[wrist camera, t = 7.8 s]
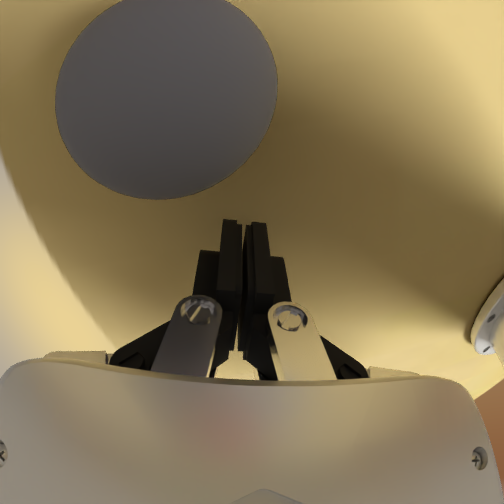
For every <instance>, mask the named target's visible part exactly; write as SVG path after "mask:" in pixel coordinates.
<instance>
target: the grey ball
mask: <svg viewBox="0 0 504 504" xmlns="http://www.w3.org/2000/svg"><path fill="white" fill-rule="evenodd" d="M276 100H277V72H276V66H275V62H274V58H273V55H272V52H271V50H270V48H269V45H268V43H267V41H266V40H265V38H264V36H263V35H262V33H261V31H260V30H259V29H258V28H257V26H256V25H255V24H254V23H253V21H252V20H251V19H250V18H249V17H247V16H246V15H245V14H244V13H243V12H242V11H241V10H239V9H238V8H237V7H235V6H234V5H232V4H231V3H229V2H227V1H225V0H123V1H121V2H119V3H117V4H115V5H113V6H112V7H110V8H109V9H107V10H106V11H104V12H103V13H101V14H100V15H99V16H97V17H96V18H95V19H94V20H93V21H92V22H91V23H90V24H89V25H88V26H87V27H86V28H85V29H84V30H83V31H82V32H81V34H80V35H79V36H78V38H77V39H76V41H75V42H74V43H73V45H72V46H71V48H70V49H69V51H68V54H67V56H66V58H65V60H64V62H63V65H62V67H61V70H60V74H59V78H58V82H57V86H56V96H55V111H56V117H57V123H58V128H59V131H60V134H61V137H62V140H63V142H64V144H65V146H66V148H67V150H68V151H69V153H70V155H71V156H72V158H73V159H74V161H75V162H76V163H77V164H78V165H79V167H80V168H81V169H82V170H83V171H84V172H85V173H86V174H88V175H89V176H90V177H91V178H92V179H94V180H95V181H97V182H98V183H100V184H102V185H103V186H105V187H107V188H109V189H111V190H113V191H115V192H118V193H121V194H124V195H127V196H131V197H135V198H142V199H153V200H161V199H174V198H179V197H184V196H188V195H192V194H195V193H198V192H200V191H203V190H205V189H208V188H210V187H212V186H214V185H215V184H217V183H219V182H220V181H222V180H224V179H225V178H227V177H229V176H230V175H231V174H232V173H233V172H235V171H236V170H237V169H238V168H239V167H240V166H242V165H243V164H244V163H245V162H246V161H247V160H248V158H249V157H250V156H251V155H252V153H253V152H254V151H255V150H256V149H257V147H258V146H259V144H260V142H261V141H262V139H263V137H264V135H265V134H266V132H267V130H268V128H269V125H270V122H271V120H272V117H273V114H274V110H275V105H276Z"/></svg>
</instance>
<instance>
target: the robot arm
mask: <svg viewBox="0 0 504 504" xmlns="http://www.w3.org/2000/svg"><path fill="white" fill-rule="evenodd" d="M237 324H238V351H243V360H247V361H248V362H249V363H250V364H251V365H253V366H254V376H255V380H239V379H223V378H216V374H217V367H218V366H219V365H221V364H222V363H223V362H225V361H226V360H227V359H228V355H229V350H230V351H233V350H234V344H235V337H236V331H237ZM470 337H471V343H472V345H473V347H474V349H475V351H476V352H477V353H479V354H482V355H488V354H493V353H496V354H497V356H498V358H499V360H500V361H501V363H502V365H503V367H504V278H503V279H502V281H501V282H500V283H499V284H498V285H497V287H496V288H495V289H494V291H493V292H492V293H491V295H490V296H489V297H488V299H487V301H486V302H485V304H484V305H483V307H482V308H481V310H480V312H479V314H478V316H477V317H476V320H475V322H474V325H473V327H472V331H471V336H470ZM0 504H504V499H503V493H502V487H501V482H500V477H499V473H498V469H497V465H496V461H495V457H494V453H493V450H492V446H491V442H490V439H489V436H488V433H487V431H486V428H485V425H484V422H483V420H482V417H481V415H480V412H479V410H478V408H477V406H476V404H475V402H474V400H473V398H472V397H471V395H470V394H469V392H468V391H467V390H466V389H465V388H464V387H463V386H462V385H461V384H459V383H457V382H455V381H452V380H449V379H445V378H441V377H436V376H428V375H419V374H417V373H414V372H408V371H400V370H392V369H385V368H378V367H372V366H370V367H369V368H368V369H365V368H364V366H363V365H362V364H360V363H359V362H358V361H356V360H355V359H354V358H352V357H351V356H349V355H348V354H346V353H345V352H343V351H342V350H341V349H339V348H338V347H336V346H335V345H333V344H332V343H331V342H329V341H328V340H326V339H325V338H323V337H322V336H321V335H319V333H318V331H317V328H316V326H315V323H314V321H313V319H312V316H311V315H310V313H309V311H308V310H307V309H305V308H304V307H303V306H301V305H299V304H297V303H293V302H292V301H291V296H290V290H289V285H288V279H287V274H286V268H285V263H284V259H283V257H274V256H270V249H269V242H268V234H267V227H266V223H259V222H252V223H251V225H246V229H245V236H244V243H243V250H242V224H237V220H228V219H223V225H222V235H221V245H220V252H218V251H207V250H200V254H199V259H198V265H197V270H196V276H195V282H194V287H193V293H192V296H189V297H186V298H184V299H183V300H181V301H180V302H179V303H178V305H177V306H176V308H175V311H174V313H173V316H172V318H171V320H170V321H168V322H166V323H165V324H163V325H161V326H159V327H157V328H156V329H154V330H152V331H150V332H148V333H147V334H145V335H143V336H141V337H139V338H138V339H136V340H134V341H132V342H130V343H129V344H127V345H125V346H123V347H121V348H120V349H118V350H117V351H116V352H115V353H114V354H107V353H106V351H74V352H73V351H56V352H51V353H49V354H47V355H45V356H44V357H43V358H37V359H29V360H26V361H22V362H19V363H16V364H15V365H13V366H11V367H10V368H9V369H8V370H7V371H6V372H5V373H4V374H3V375H2V377H1V378H0Z"/></svg>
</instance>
